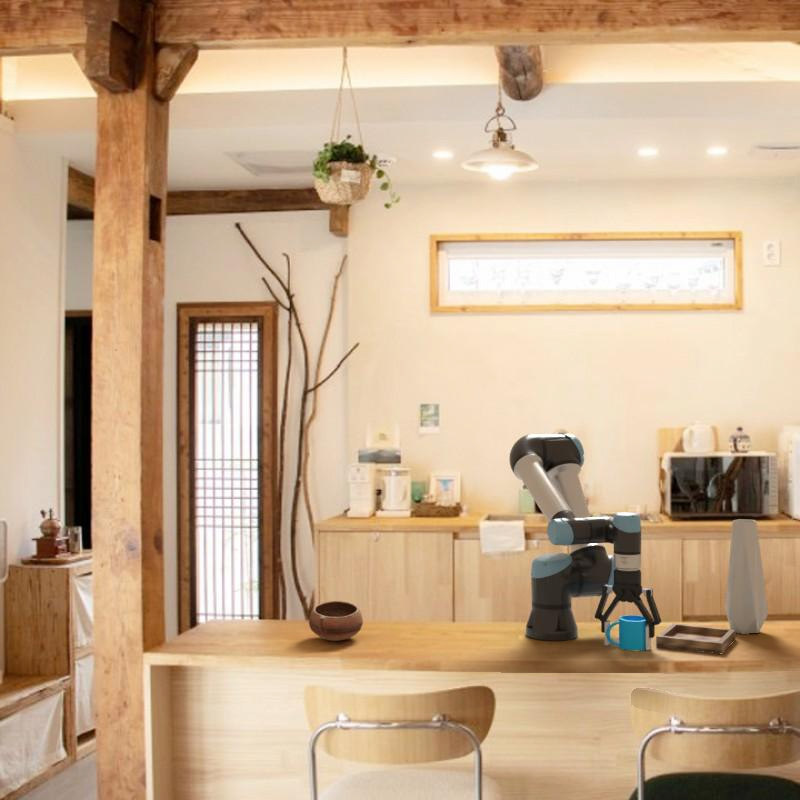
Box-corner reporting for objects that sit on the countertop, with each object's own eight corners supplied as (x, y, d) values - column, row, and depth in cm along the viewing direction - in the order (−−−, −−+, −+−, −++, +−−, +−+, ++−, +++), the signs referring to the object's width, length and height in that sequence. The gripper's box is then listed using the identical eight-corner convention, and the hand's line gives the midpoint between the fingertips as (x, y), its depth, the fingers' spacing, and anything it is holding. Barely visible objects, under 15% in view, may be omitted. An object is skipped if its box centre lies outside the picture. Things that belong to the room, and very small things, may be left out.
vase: (771, 637, 307) (771, 523, 307) (730, 636, 309) (729, 523, 308) (764, 627, 319) (763, 518, 319) (724, 626, 321) (723, 517, 321)
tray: (656, 646, 297) (656, 636, 297) (672, 633, 313) (672, 623, 313) (722, 654, 288) (722, 643, 288) (735, 640, 304) (735, 629, 304)
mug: (643, 643, 301) (643, 614, 301) (652, 650, 293) (652, 621, 293) (602, 644, 301) (602, 615, 301) (609, 651, 293) (609, 622, 292)
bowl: (312, 647, 300) (312, 612, 300) (306, 634, 315) (305, 600, 315) (367, 644, 303) (367, 609, 303) (358, 631, 318) (357, 598, 318)
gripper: (582, 567, 299) (583, 644, 299) (665, 573, 288) (666, 654, 288) (591, 563, 305) (591, 639, 306) (672, 569, 294) (673, 648, 294)
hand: (627, 646), depth 297 cm, fingers open, 11 cm apart
